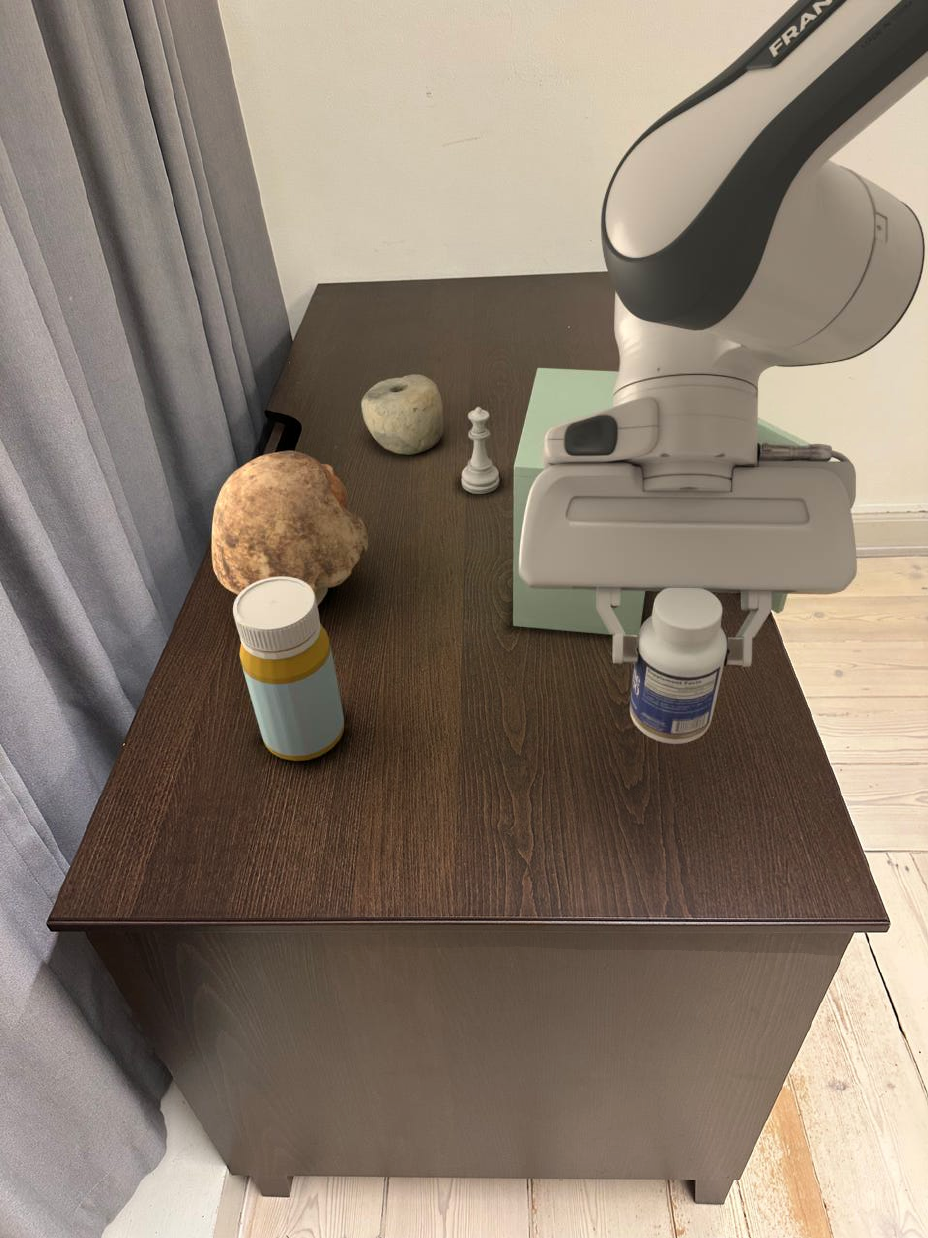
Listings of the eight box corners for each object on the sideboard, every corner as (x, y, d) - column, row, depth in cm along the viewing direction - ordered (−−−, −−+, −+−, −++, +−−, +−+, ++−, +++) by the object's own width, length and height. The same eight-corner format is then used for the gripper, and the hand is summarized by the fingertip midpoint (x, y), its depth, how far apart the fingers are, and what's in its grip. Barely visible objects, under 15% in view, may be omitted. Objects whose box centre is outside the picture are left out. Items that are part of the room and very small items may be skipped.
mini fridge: (643, 525, 97) (662, 373, 85) (639, 637, 84) (660, 475, 72) (534, 518, 99) (537, 367, 87) (513, 626, 86) (513, 466, 74)
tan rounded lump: (406, 575, 92) (394, 449, 82) (307, 667, 82) (279, 537, 72) (296, 531, 98) (272, 409, 88) (192, 612, 89) (152, 485, 79)
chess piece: (455, 489, 103) (451, 412, 97) (472, 470, 106) (469, 394, 100) (488, 498, 102) (487, 420, 95) (505, 479, 105) (505, 402, 98)
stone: (466, 393, 112) (435, 365, 103) (442, 471, 113) (409, 450, 104) (398, 378, 116) (363, 351, 107) (375, 454, 116) (338, 433, 107)
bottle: (355, 750, 75) (331, 618, 65) (273, 776, 73) (236, 644, 63) (333, 694, 80) (308, 563, 70) (256, 717, 78) (219, 586, 68)
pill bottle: (644, 676, 61) (658, 567, 55) (721, 701, 59) (745, 590, 53) (616, 730, 58) (628, 620, 51) (697, 758, 56) (720, 648, 49)
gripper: (839, 455, 57) (837, 669, 57) (523, 454, 59) (518, 660, 59) (874, 430, 51) (873, 670, 51) (520, 429, 53) (514, 660, 52)
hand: (679, 665), depth 55 cm, fingers closed on pill bottle, 5 cm apart
